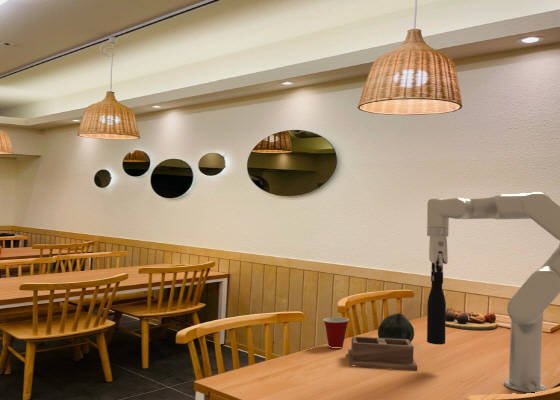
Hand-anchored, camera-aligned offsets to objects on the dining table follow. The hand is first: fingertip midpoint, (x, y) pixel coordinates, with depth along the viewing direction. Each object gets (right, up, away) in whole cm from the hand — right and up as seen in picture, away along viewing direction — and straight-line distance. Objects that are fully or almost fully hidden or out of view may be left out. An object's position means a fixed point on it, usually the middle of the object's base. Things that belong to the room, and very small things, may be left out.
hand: (436, 282), depth 193 cm
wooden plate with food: (+40, -36, +86) cm, 101 cm away
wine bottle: (-1, -22, -1) cm, 22 cm away
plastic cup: (-34, -31, +26) cm, 53 cm away
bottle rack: (-19, -31, +8) cm, 37 cm away
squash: (-8, -33, +33) cm, 47 cm away
